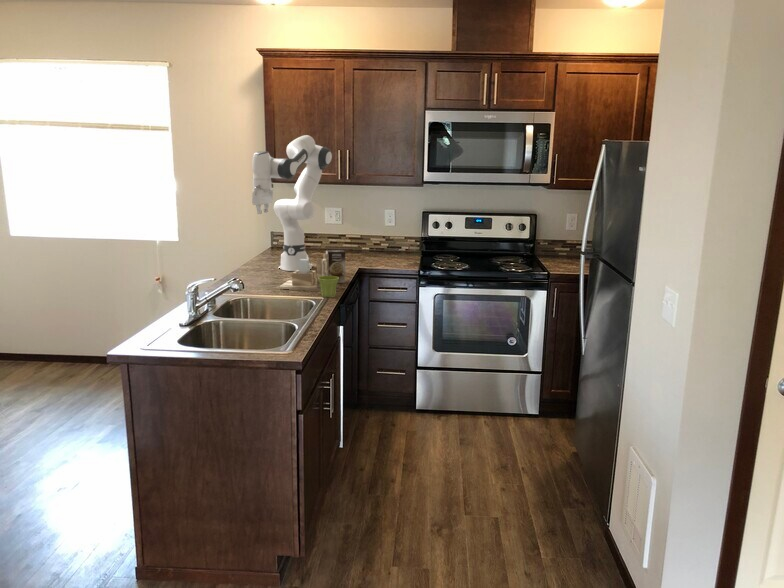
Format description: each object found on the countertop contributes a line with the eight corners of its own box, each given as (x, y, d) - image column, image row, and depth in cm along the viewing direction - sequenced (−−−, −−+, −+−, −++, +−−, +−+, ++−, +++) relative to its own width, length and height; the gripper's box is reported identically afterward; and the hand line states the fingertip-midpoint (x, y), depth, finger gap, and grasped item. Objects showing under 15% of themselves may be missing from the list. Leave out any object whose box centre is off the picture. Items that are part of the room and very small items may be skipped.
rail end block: (301, 282, 302) (301, 258, 300) (309, 283, 302) (309, 259, 299) (299, 284, 299) (298, 260, 296) (307, 284, 298) (307, 260, 296)
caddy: (289, 282, 310) (288, 252, 306) (328, 284, 307) (328, 253, 304) (279, 289, 294) (278, 257, 291) (321, 291, 292) (321, 259, 288)
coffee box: (327, 283, 310) (327, 251, 306) (325, 281, 316) (325, 249, 312) (345, 282, 312) (345, 251, 309) (342, 280, 318) (343, 249, 315)
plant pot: (325, 299, 276) (325, 280, 274) (314, 295, 283) (314, 277, 281) (342, 296, 282) (342, 278, 280) (331, 293, 289) (331, 274, 287)
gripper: (261, 186, 293) (261, 215, 296) (274, 184, 313) (275, 211, 316) (248, 185, 294) (249, 214, 297) (262, 184, 314) (263, 211, 317)
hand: (262, 213), depth 307 cm, fingers open, 8 cm apart
